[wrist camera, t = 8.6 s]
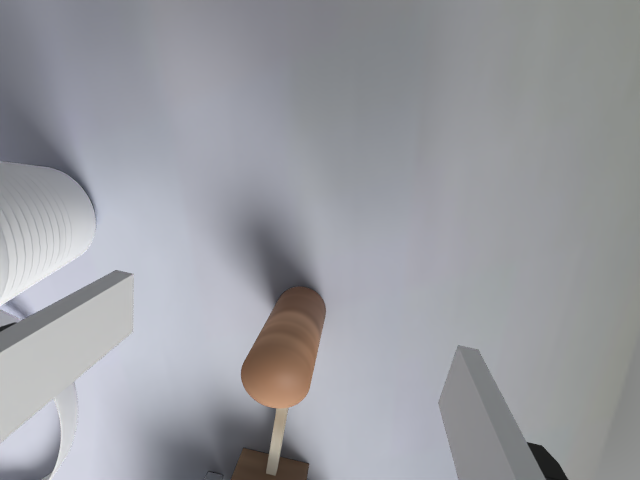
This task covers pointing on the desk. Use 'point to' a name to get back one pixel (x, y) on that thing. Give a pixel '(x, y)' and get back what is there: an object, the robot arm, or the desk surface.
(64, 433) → the headphones
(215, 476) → the lane
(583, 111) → the desk surface
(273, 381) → the tethered block
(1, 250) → the cup
